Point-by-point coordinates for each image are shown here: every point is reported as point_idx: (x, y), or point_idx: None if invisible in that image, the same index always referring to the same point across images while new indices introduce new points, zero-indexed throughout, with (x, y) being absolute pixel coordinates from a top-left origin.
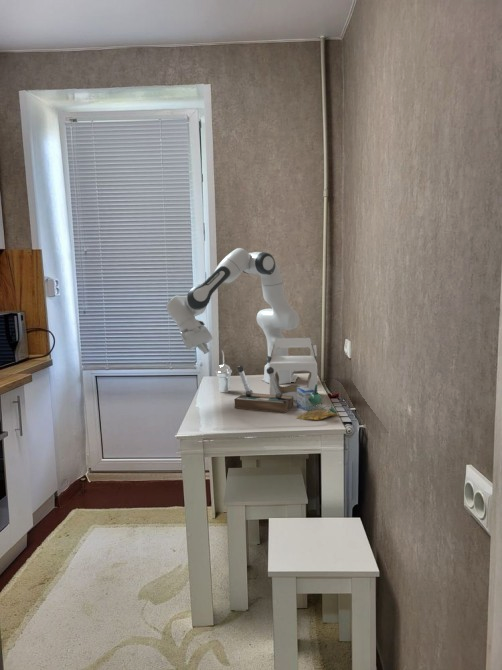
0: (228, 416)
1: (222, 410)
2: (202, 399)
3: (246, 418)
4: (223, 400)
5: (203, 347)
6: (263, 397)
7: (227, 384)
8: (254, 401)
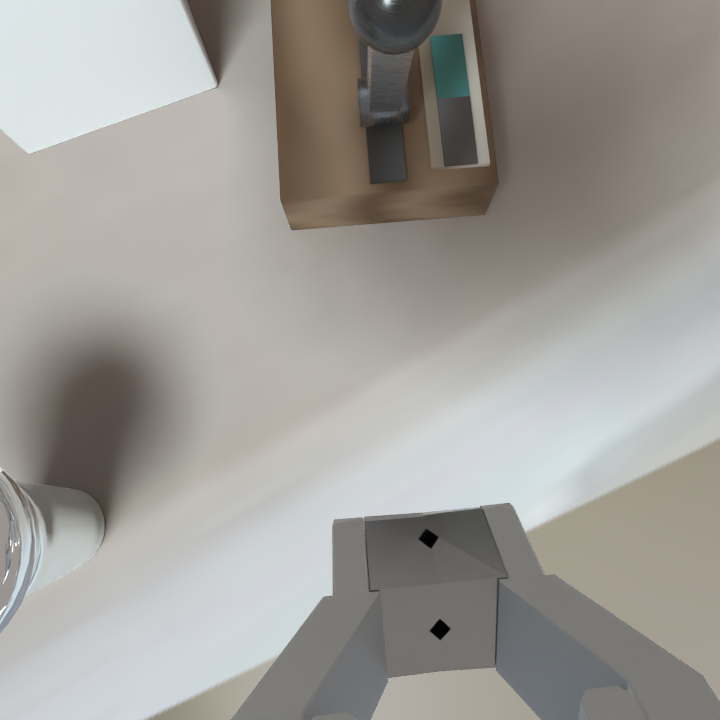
0: (672, 162)
1: (571, 264)
2: None
3: (654, 48)
4: (333, 388)
5: (624, 624)
6: None
7: (48, 486)
8: (478, 37)
